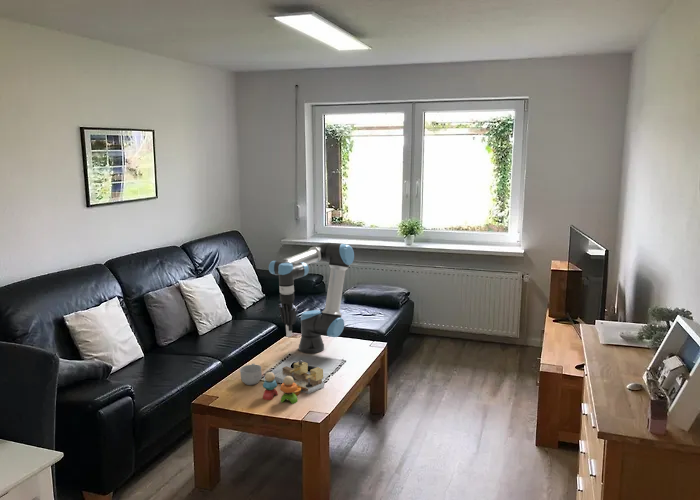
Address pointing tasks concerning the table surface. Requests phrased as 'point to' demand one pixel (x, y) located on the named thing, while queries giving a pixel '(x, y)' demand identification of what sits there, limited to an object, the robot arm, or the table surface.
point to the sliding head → (299, 368)
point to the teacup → (251, 374)
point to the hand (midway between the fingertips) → (289, 336)
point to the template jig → (303, 379)
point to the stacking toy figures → (281, 388)
